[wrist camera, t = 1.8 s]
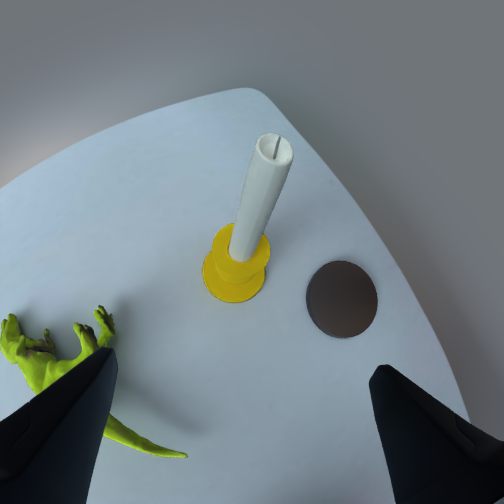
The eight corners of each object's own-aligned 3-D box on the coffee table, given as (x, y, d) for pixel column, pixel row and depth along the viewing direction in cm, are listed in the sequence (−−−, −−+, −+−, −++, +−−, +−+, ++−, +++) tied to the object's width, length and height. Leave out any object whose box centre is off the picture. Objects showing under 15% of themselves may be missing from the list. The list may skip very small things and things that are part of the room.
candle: (276, 274, 24) (371, 154, 9) (232, 316, 22) (285, 232, 7) (234, 232, 24) (273, 81, 10) (189, 270, 23) (171, 127, 8)
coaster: (383, 316, 24) (388, 315, 23) (326, 352, 22) (330, 351, 21) (352, 253, 26) (356, 250, 25) (292, 280, 24) (295, 277, 23)
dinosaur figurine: (210, 338, 21) (212, 332, 15) (186, 453, 17) (181, 485, 11) (20, 273, 19) (-16, 250, 14) (-2, 369, 15) (-42, 365, 10)
